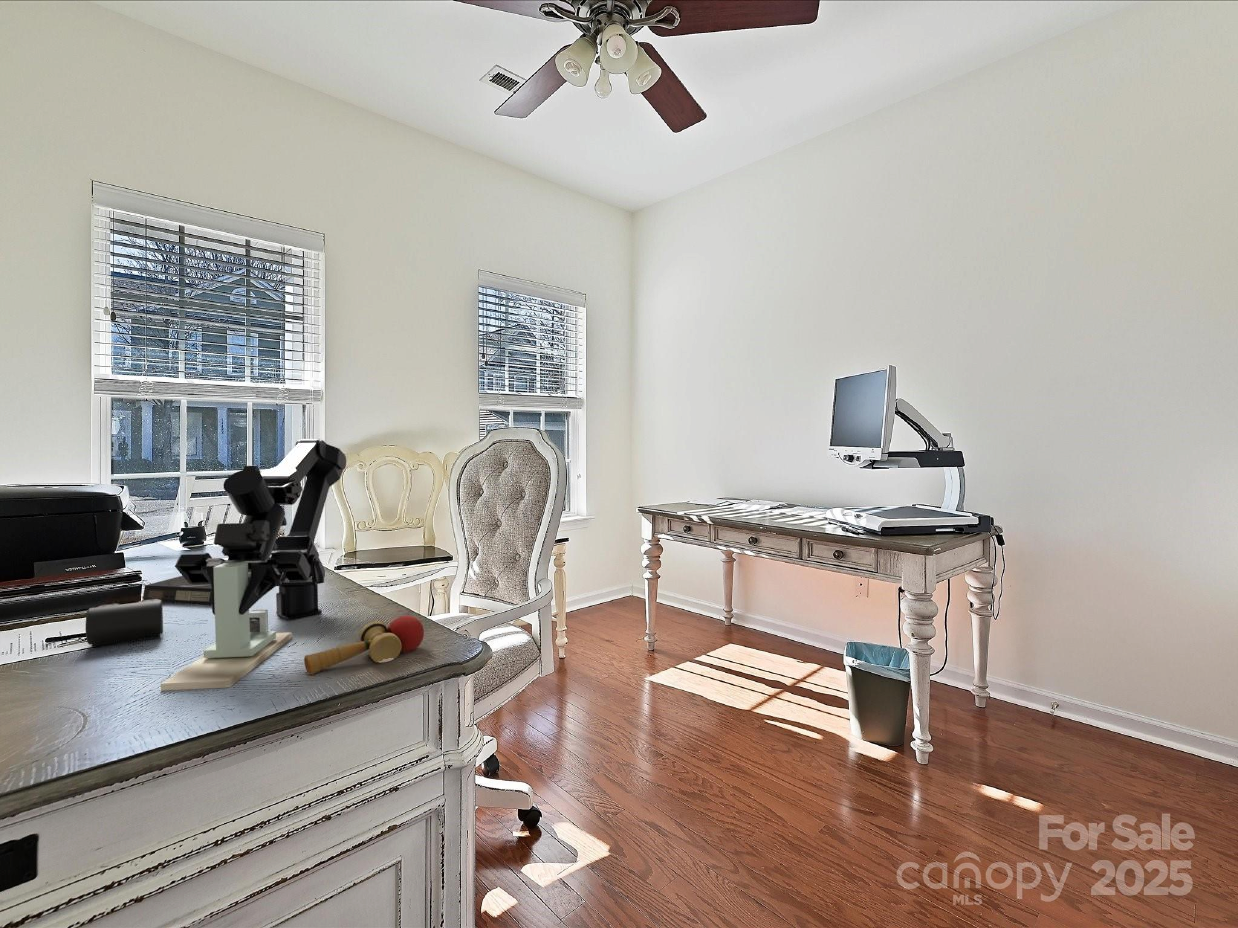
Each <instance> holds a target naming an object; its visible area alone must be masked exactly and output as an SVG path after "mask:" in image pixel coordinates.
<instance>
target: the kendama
mask: <svg viewBox="0 0 1238 928" xmlns="http://www.w3.org/2000/svg"><path fill="white" fill-rule="evenodd" d="M424 635H425V631H424V626H423V624H422V622H421V621H420V620H419V619H418V618H417V617H414V616H412V615H402V616H398V617H396V618H395V619H394V620H392V621H391V622H390V623H389V625H388V627H387V626H386V625H385V624H384V623H382V622H380V621H372V622H369V623H367V624H365V625H364V626H363V627H362V628H361V630H360V633H359V637H358V638H359V641H358V642H353V643H349V644H345V645H341V646H338V647H334V648H330V649H327V650H324V651H323V650H322V651H320V652H316V653H315V652H314V653H311V654H307V655H305V656H304V658H303V661H304V667H305V671H306V673H307V672H308V673H309V674H308V673H307V674H308V675H309V676H312V675H315V674H317V673H319V672H320V671H324V670H326V669H329V668H331V667H333V666H335V665H338V664H340V663H342V662H345V661H348V660H350V659H352V658H355V657H356V656H359V655H361V654H362V653H365V652H366V651H368V654H369V656H370V658H371V660H372V661H374V663H377V662H378V661H382V660H383V659H388V658H395V659H396V658H398V656H399V654H400V652H407V653H409V652H408V651H410V652H412V651H411V650H413V651H414V650H416V649H417V648H418V647H419V646H421V644H422V642H423V640H424ZM314 673H315V674H314ZM311 674H312V675H311Z"/></svg>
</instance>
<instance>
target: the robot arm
mask: <svg viewBox="0 0 1238 928" xmlns="http://www.w3.org/2000/svg"><path fill="white" fill-rule="evenodd" d="M345 454H346V453H344V452H343V451H342V450H341V449H340V448H338V447H336V446H333V445H331V444H328V443H327V442H325V440H323V439H320V438H301V439H298V440H296V442H295V445H294V447H293V448H292V450H291V451H289V453H288V454H287V455H286V456H285V457H284V458H283V460H282V461H280V463H279V464H278V465H277V466H275V467H272V468H269V469H264V470H263V471H261V470H260V468H259V465H244V467H243V469H242V470H240V471H236V472H235V473H232V474H231V475H229V476H228V477H227V478H226V479H225V480H224V481H223V485H222V486H223V489H224V491H225V493H226V495H227V496H228V498H229V500H230V501H231V503H232V504H233V506H234V507H235V510H236V511H237V513H239V514H241V515H242V516H245V517H244V520H243V522H239V523H237V522H236V523H235V522H233V523H230V522H229V523H227V522H226V523H218V524H217V526H216V531H215V535H214V538H213V539H214V540H213V544H214V545H215V546H217V545H218V546H220V547H222V550H221V554H223V556H224V557H225V556H227V558H228V559H224V558H221V557H212V556H211V554H210V553H209V552H185V553H182V554H180V556H179V557H178V559H177V561H176V563H175V565H174V567H175V569H177V571H178V572H179V574H181V576H183V577H184V578H185V579H186V580H187V582H188V583H190V584H193V585H201V584H211V588H212V605H211V611H212V614H213V615H214V616H215V601H214V568H213V567H215V566H218V565H220V564H223V563H232V562H248V573H251V579H250V581H249V584H248V586H247V589H246V591H245V593H244V596H243V598H242V601H241V603H240V607H239V613H240V615H243V614H244V613H245V612H247V611H248V610H249V611H250V609H251V608H252V607H253V606H254V605H255V604H256V603H257V602H259V600H261V599H262V598H263V597H265V595H266V594H268V593H269V592H270V591H272V590H273V589H274V588H276V587H278V592H276V593H275V600H276V601H275V602H276V603H275V604H276V612H275V614H276V615H278V616H280V617H282V618H284V619H286V620H293V619H299V618H304V617H309V616H312V615H317V614H321V613H322V612H323V610H322V609H321V608H319V585H320V584H324V583H325V577H326V568H325V567H324V565H323V563H322V561H321V559H320V553H319V552H318V549H317V546H316V545H315V539H316V536H317V533H318V529H319V525H320V521H321V518H322V515H323V512H324V508H325V504H326V500H327V497H328V493H329V489H330V487H332V486H333V485H335V484H336V483H337V482H338V481H340V479H341V477H342V474H343V472H344V470H345V469H346V467H347V457H346V455H345ZM305 477H306V479H305V483H304V487H302V480H304V478H305ZM298 499H299V500H298ZM297 501H299V502H298V504H297V508H296V511H295V514H294V517H293V521H292V524H291V526H290V530H289V533H288V534H287V535H285V536H278V535H279V533H280V530H281V528H282V527H286V526H287V525H288V523H287V519H286V512H285V510H284V508H283V507H282V506H291V505H292V506H294V504H296V503H297Z"/></svg>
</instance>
